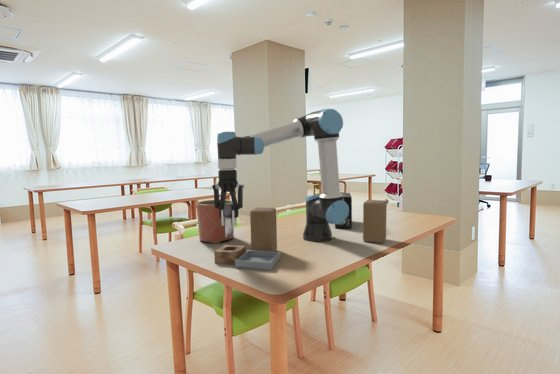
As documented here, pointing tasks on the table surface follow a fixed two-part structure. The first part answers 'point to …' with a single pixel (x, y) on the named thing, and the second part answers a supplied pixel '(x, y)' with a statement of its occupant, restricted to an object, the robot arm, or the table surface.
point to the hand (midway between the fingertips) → (229, 224)
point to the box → (348, 220)
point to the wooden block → (263, 229)
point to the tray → (258, 260)
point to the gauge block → (228, 254)
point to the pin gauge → (228, 220)
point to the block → (374, 221)
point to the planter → (210, 222)
